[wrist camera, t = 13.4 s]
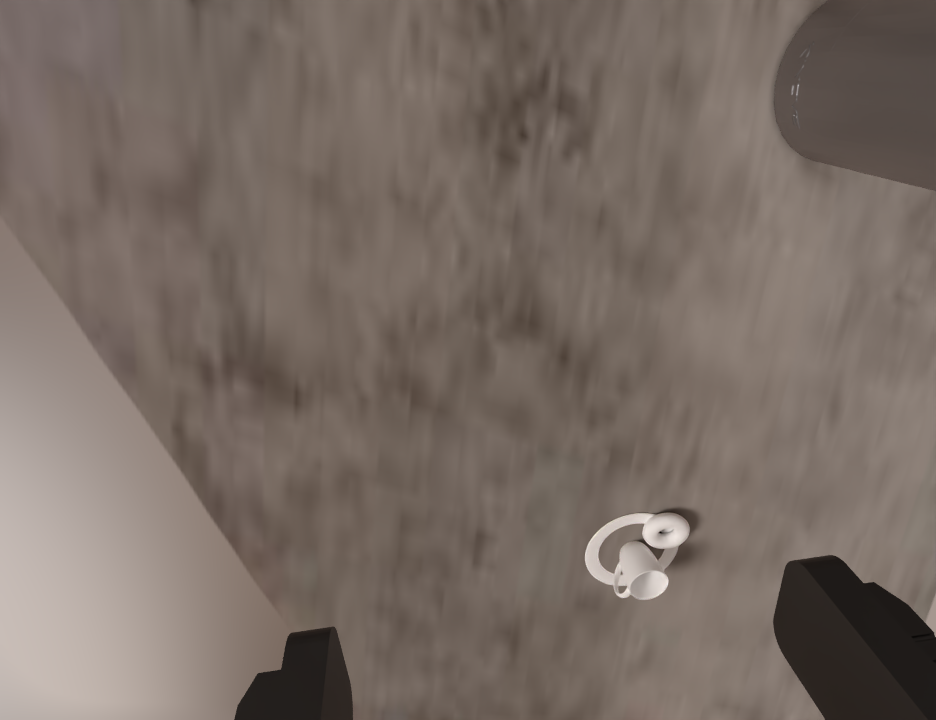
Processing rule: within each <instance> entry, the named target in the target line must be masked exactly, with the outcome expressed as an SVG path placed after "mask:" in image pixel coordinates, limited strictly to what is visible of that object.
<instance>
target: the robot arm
mask: <svg viewBox="0 0 936 720" xmlns="http://www.w3.org/2000/svg"><path fill="white" fill-rule="evenodd" d="M774 108H775V115H776V121H777V124H778V126H779V129H780V131H781V134H782V136H783V137H784V139H785V140H786V141H787V143H788V144H789V145H790V147H791V148H793V149H794V150H795V151H796V152H798V153H799V154H800V155H801V156H804V157H806V158H809V159H811V160H814V161H817V162H821V163H825V164H829V165H833V166H837V167H841V168H846V169H850V170H854V171H857V172H860V173H864V174H869V175H873V176H877V177H881V178H885V179H889V180H893V181H897V182H901V183H905V184H909V185H913V186H917V187H922V188H926V189H930V190H934V191H936V0H828V1H827V2H826V3H825V4H823V5H822V6H821V7H820V8H819V9H817V10H816V11H815V12H814V13H813V14H812V15H811V16H810V17H809V18H808V19H807V20H806V22H805V23H804V24H803V25H802V26H801V27H800V29H799V30H798V31H797V33H796V35H795V36H794V38H793V39H792V41H791V43H790V44H789V46H788V48H787V50H786V52H785V55H784V57H783V59H782V62H781V64H780V67H779V71H778V75H777V79H776V83H775V94H774ZM773 625H774V632H775V636H776V639H777V642H778V645H779V647H780V649H781V651H782V653H783V655H784V657H785V658H786V660H787V661H788V663H789V664H790V666H791V668H792V669H793V671H794V672H795V674H796V675H797V677H798V678H799V680H800V681H801V683H802V684H803V686H804V687H805V689H806V690H807V692H808V694H809V695H810V697H811V698H812V700H813V701H814V703H815V704H816V706H817V707H818V709H819V710H820V712H821V713H822V715H823V717H824V718H825V720H936V637H935V635H934V632H933V631H932V630H931V629H930V628H929V627H928V626H927V625H926V623H925V622H924V621H923V620H922V619H921V618H920V617H919V616H918V615H917V614H916V613H915V612H914V611H913V610H912V609H911V607H910V606H909V605H908V604H906V603H905V602H903V601H902V600H900V599H899V598H897V597H896V596H894V595H893V594H891V593H890V592H888V591H886V590H885V589H883V588H882V587H880V586H879V585H877V584H876V583H874V582H871V583H863V582H862V581H861V580H860V579H859V578H858V577H857V576H856V575H855V573H854V572H853V571H852V570H851V569H850V568H849V567H848V566H847V564H846V563H845V562H844V561H842V560H841V559H840V558H838V557H836V556H833V555H828V556H821V557H814V558H808V559H801V560H794V561H790V562H788V563H787V565H786V567H785V570H784V574H783V579H782V583H781V588H780V592H779V596H778V601H777V605H776V609H775V614H774V619H773ZM234 720H353V704H352V691H351V684H350V680H349V676H348V672H347V668H346V664H345V661H344V657H343V653H342V649H341V645H340V641H339V638H338V634H337V631H336V628H335V627H328V628H321V629H314V630H308V631H301V632H294V633H290V635H289V636H288V638H287V642H286V646H285V652H284V657H283V663H282V668H281V670H277V671H270V672H263V673H258V674H257V676H256V677H255V679H254V681H253V682H252V684H251V685H250V687H249V689H248V690H247V692H246V693H245V695H244V697H243V698H242V700H241V701H240V703H239V705H238V707H237V711H236V715H235V719H234Z"/></svg>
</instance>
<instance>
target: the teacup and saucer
mask: <svg viewBox="0 0 936 720" xmlns="http://www.w3.org/2000/svg"><path fill="white" fill-rule="evenodd" d="M635 523H644V524H645V525H644V527H643V532H642V534H643V538H644V539H645V541H646V542H647V543H648V544H649V545H650V546H652V547H654V548H658V549H664V552H663V554H662V556H661V557H660V559H659V560H657V559H656V557H655V556H654V554H653V553H652V552H651V550H650V549H649V548H648V547H647V546H646V545H645V544H643V543H641V542H639V541H631V542H628V543H626V544H625V545H624V546H623V547H622V548H621V550H620V562H619V563H618V565H617V567H616V570H615V574H613V573H610V572H608V571H606V570H605V569H604V568H603V567H602V566H601V564H600V562H599V559H598V552H599V548H600V546H601V544H602V542H603V541H604V539H605V538H606V537H607V536H608V535H609V534H611V533H612V532H613V531H615V530H617V529H618V528H621V527H623V526H626V525H629V524H635ZM660 531H661V532H662V533H663V534H660V533H659V532H660ZM689 533H690V527H689V524H688V522H687V521H686V519H684V518H683V517H682V516H680V515H678V514H675V513H660V514H657V515H656V514H651V513H634V514H629V515H625V516H622V517H619V518H617V519H615V520H613V521H611V522H609V523H607V524H606V525H605V526H603V527H602V528H601V529H600V530H598V531H597V532H596V534H595V535H594V536H593V537H592V539H591V540H590V542H589V544H588V546H587V549H586V553H585V562H586V566H587V569H588V570H589V572H590V573H591V574H592V575H593V576H594V577H595V578H596V579H597V580H599V581H601V582H603V583H606V584H609V585H614V591H615V593H616V594H617V595H618V596H619V597H621V598H626V597H628V596H629V595H630V594H631V595H632V596H633V597H635V598H637V599H641V600H647V599H652V598H655V597H657V596H659V595H660V594H661V593H663V592H664V591H665V589H666V588H667V586H668V577H667V575H666V573H665V572H664V569H665V568H666V567H667V566H668V565H669V564H670V563H671V562H672V560H673V559H674V557H675V555H676V553H677V551H678V547H679V545H680V544H682V543H683V542H684V541H685V540H686V539H687V538H688V536H689ZM621 570H622V572H623V575H620V573H621ZM618 586H627V588H626V590H625V592H624V593H622V594H619V590H618Z"/></svg>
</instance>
